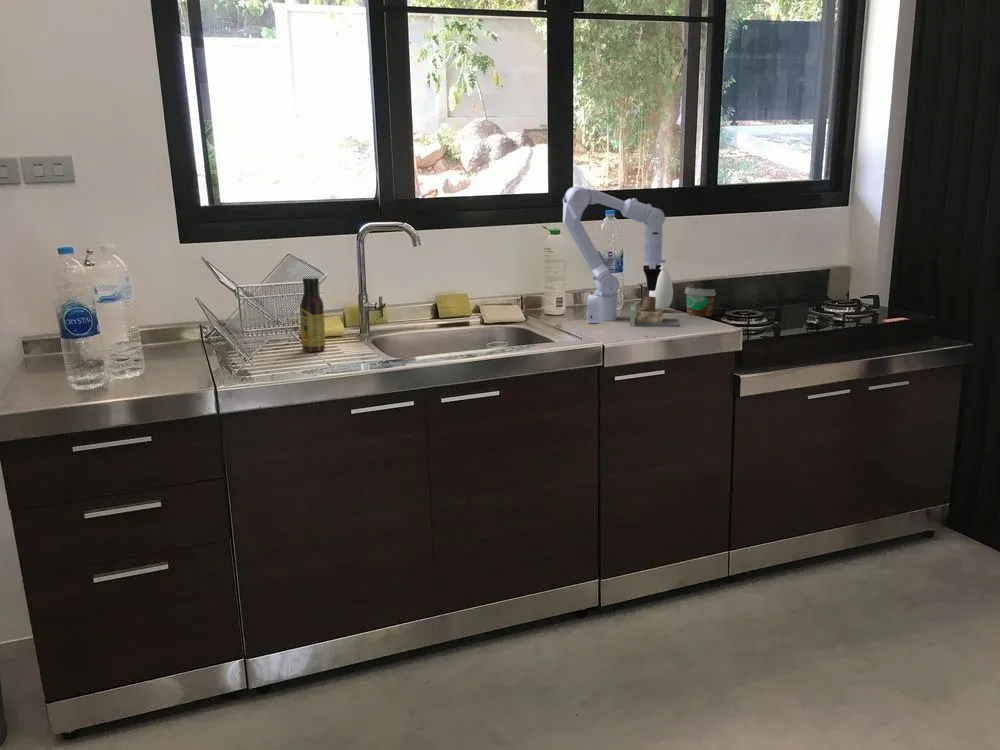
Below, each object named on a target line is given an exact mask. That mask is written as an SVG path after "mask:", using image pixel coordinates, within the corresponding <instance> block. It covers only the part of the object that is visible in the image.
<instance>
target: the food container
mask: <svg viewBox="0 0 1000 750" xmlns="http://www.w3.org/2000/svg"><path fill="white" fill-rule="evenodd" d="M684 294H686V314H687V315H689V316H693V315H694V316H696V317H712V316H713V310H714V309H713V308H714V300H715V296H716V295H717V293H716V289H712V288H711V289H709V288H708V289H705V288H696V287H694V285H693V284H692V285H691V284H690V285H687V286H686V288H685V290H684Z"/></svg>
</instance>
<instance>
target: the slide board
mask: <svg viewBox="0 0 1000 750" xmlns="http://www.w3.org/2000/svg"><path fill="white" fill-rule="evenodd" d="M636 306H637V305H636V304H635V303H631V304H630V311H629V327H635V326H636V327H664V328H665V327H666V328H667V327H668V328H680V323H679V318H663V317H662V322H674V323H662V324H657V323H636ZM675 322H678V323H675Z"/></svg>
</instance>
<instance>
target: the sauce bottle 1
mask: <svg viewBox="0 0 1000 750" xmlns="http://www.w3.org/2000/svg"><path fill="white" fill-rule="evenodd" d="M319 280H320V279H319V277H317V276H304V277H302V283H303V284H302V285H303V295H302V299H301V303H300V304H299V305H300V306H299V315H300V332H301V333H300V334H301V335H300V336H301V346H302V350H303V351H304V352H306V353H315V352H323V351H325V349H326V348H325V347H326V333H325V332H326V330H325V327H326V326H325V325H326V324H325V312H324V302H323V300H322V297H320V295H319V283H320V282H319Z"/></svg>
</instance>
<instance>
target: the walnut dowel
mask: <svg viewBox="0 0 1000 750" xmlns="http://www.w3.org/2000/svg"><path fill="white" fill-rule="evenodd" d="M655 306H656V297H649V296H643V308H644V312H655Z"/></svg>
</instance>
